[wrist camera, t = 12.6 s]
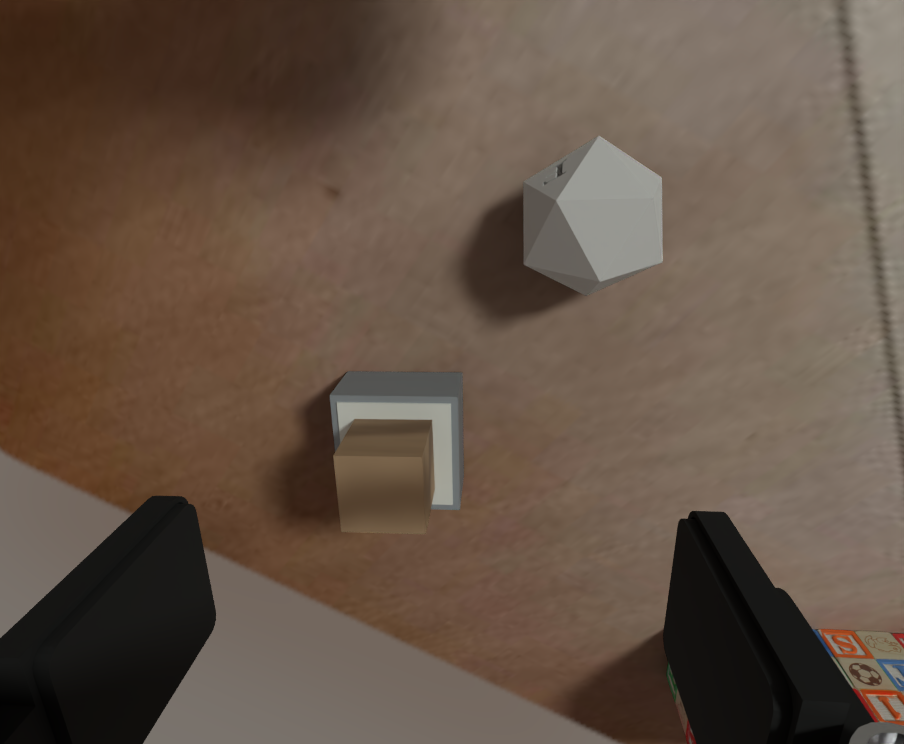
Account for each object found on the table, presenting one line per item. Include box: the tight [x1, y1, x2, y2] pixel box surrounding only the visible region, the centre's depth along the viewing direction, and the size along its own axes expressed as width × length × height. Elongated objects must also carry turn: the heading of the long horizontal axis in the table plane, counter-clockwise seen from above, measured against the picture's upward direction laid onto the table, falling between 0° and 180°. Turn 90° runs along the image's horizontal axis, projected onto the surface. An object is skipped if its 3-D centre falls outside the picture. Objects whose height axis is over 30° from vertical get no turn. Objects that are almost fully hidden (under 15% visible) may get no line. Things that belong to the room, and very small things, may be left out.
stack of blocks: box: [666, 629, 904, 744], centre depth 45 cm, size 21×6×12 cm, turn 92°
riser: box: [330, 371, 464, 510], centre depth 43 cm, size 9×9×5 cm
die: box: [523, 136, 663, 296], centre depth 36 cm, size 8×9×10 cm
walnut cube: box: [333, 419, 435, 534], centre depth 38 cm, size 6×6×6 cm
